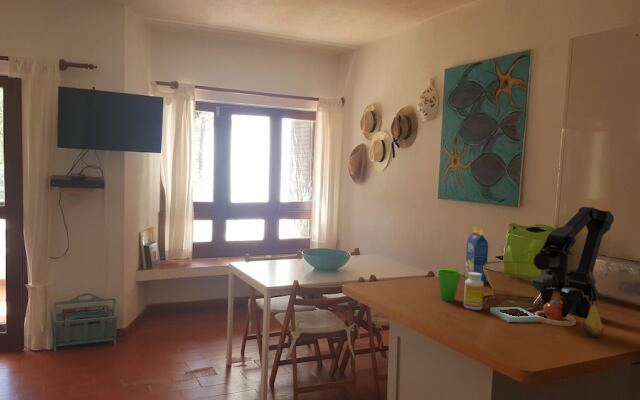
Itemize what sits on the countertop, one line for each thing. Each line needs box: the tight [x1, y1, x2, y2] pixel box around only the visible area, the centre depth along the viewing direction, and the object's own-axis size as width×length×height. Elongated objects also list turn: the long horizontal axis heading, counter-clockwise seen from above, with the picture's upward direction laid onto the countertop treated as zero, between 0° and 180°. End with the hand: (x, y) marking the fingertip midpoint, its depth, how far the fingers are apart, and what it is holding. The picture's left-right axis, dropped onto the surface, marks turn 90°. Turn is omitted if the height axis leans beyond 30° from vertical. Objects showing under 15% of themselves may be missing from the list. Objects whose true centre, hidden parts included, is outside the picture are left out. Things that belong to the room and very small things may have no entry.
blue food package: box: [464, 226, 489, 284], centre depth 224 cm, size 6×12×25 cm, turn 0°
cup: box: [437, 268, 462, 302], centre depth 187 cm, size 9×9×11 cm
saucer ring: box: [533, 310, 577, 327], centre depth 166 cm, size 13×13×1 cm
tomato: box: [543, 297, 565, 321], centre depth 166 cm, size 7×7×8 cm
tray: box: [489, 306, 540, 323], centre depth 167 cm, size 12×12×2 cm
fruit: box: [582, 297, 604, 338], centre depth 150 cm, size 6×6×12 cm
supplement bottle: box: [463, 272, 485, 311], centre depth 176 cm, size 7×7×13 cm
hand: (555, 312), depth 166 cm, fingers open, 9 cm apart
